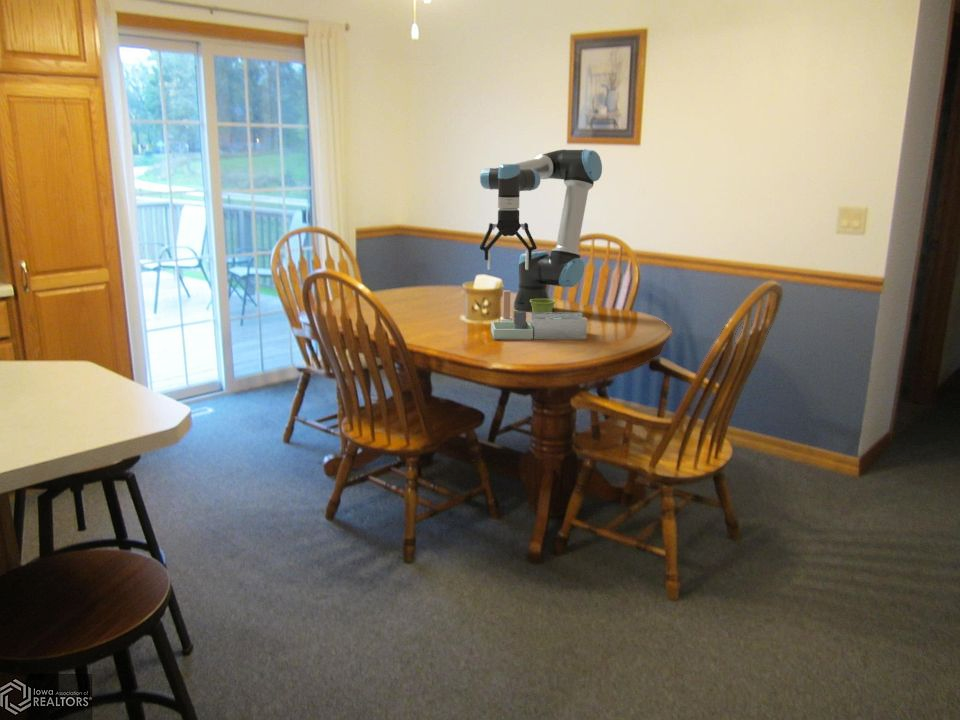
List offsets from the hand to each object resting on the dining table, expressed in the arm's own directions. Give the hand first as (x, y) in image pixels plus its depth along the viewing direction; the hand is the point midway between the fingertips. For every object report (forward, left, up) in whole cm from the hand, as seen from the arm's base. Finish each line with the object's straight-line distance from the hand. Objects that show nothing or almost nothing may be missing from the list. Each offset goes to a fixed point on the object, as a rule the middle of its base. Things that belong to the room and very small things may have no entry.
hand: (507, 269), depth 287 cm
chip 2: (+14, +6, -19) cm, 24 cm away
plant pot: (-7, +14, -21) cm, 26 cm away
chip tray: (+13, +1, -21) cm, 25 cm away
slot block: (+13, +17, -21) cm, 30 cm away
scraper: (0, 0, -21) cm, 21 cm away
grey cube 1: (+13, +3, -17) cm, 22 cm away
